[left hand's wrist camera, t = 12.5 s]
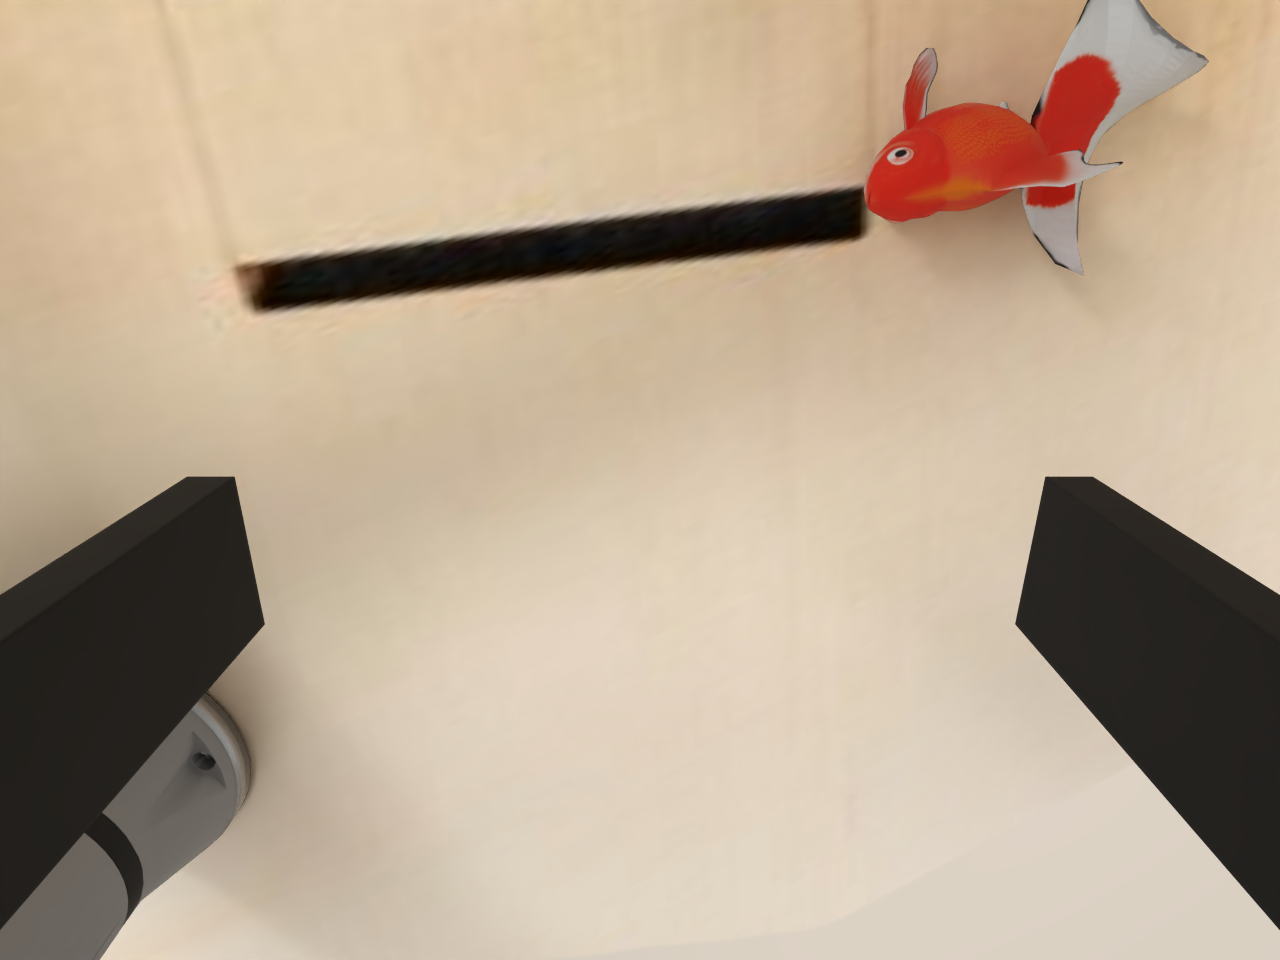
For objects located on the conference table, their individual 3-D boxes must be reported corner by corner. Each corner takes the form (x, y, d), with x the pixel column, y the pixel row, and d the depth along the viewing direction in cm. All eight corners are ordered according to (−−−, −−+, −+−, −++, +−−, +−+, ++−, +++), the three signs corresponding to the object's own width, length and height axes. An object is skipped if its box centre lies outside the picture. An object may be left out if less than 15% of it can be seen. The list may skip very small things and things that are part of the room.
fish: (854, -58, 30) (1053, -12, 23) (1118, -30, 36) (1337, 13, 29) (789, 214, 36) (929, 311, 30) (1020, 199, 42) (1179, 277, 36)
